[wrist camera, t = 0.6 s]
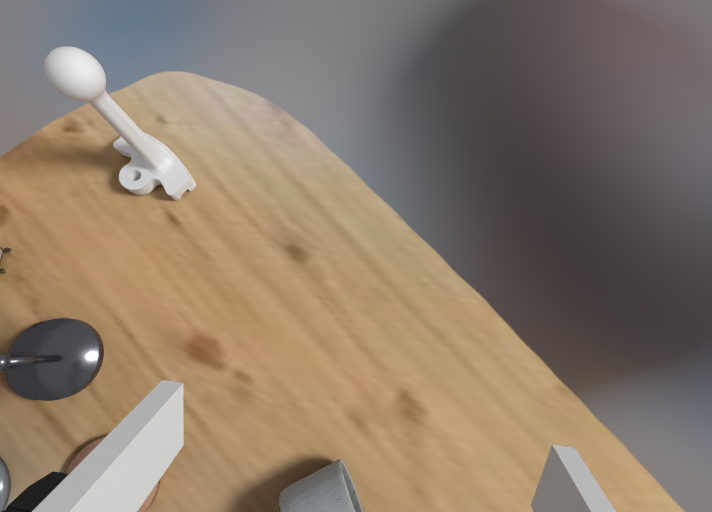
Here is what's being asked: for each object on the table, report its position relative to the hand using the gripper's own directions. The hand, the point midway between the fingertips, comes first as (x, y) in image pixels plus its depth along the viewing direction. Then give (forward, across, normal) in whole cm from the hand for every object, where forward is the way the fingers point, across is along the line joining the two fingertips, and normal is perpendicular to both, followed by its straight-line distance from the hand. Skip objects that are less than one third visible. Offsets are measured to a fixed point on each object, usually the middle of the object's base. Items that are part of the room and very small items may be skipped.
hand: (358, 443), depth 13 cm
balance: (+25, +36, +19) cm, 48 cm away
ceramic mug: (+22, +1, +31) cm, 38 cm away
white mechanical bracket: (+38, +32, -3) cm, 50 cm away
